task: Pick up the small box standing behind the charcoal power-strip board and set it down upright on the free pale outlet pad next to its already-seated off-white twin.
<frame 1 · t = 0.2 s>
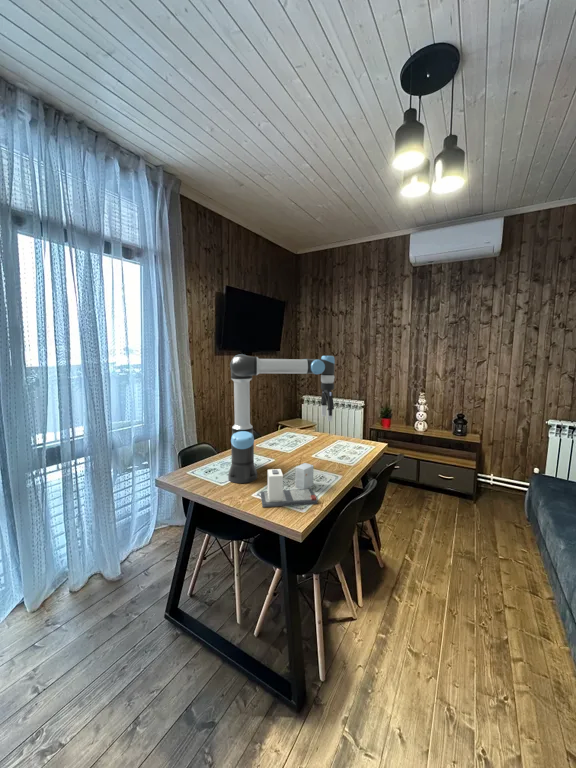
hand: (326, 418, 180), 28 cm above the table, fingers open, 13 cm apart
strip board: (288, 499, 139), on the table
twin plug: (274, 499, 138), resting on strip board
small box: (304, 486, 152), on the table
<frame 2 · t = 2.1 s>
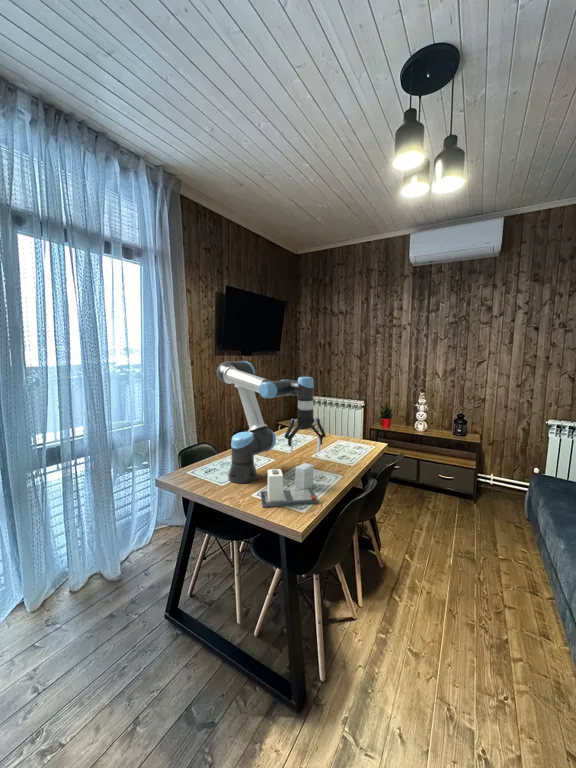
hand: (305, 451, 150), 18 cm above the table, fingers open, 13 cm apart
nothing on the table moved.
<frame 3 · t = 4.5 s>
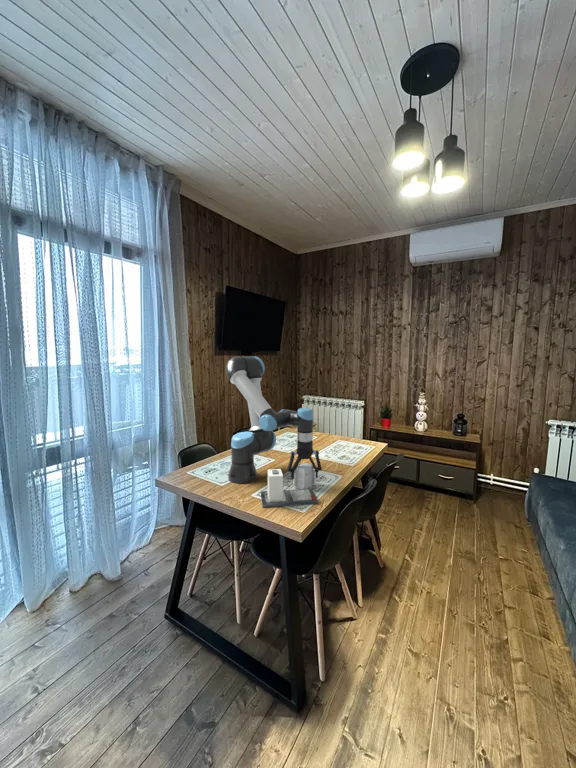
hand: (304, 484, 152), 1 cm above the table, fingers closed on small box, 9 cm apart
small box: (304, 486, 152), on the table, touching gripper
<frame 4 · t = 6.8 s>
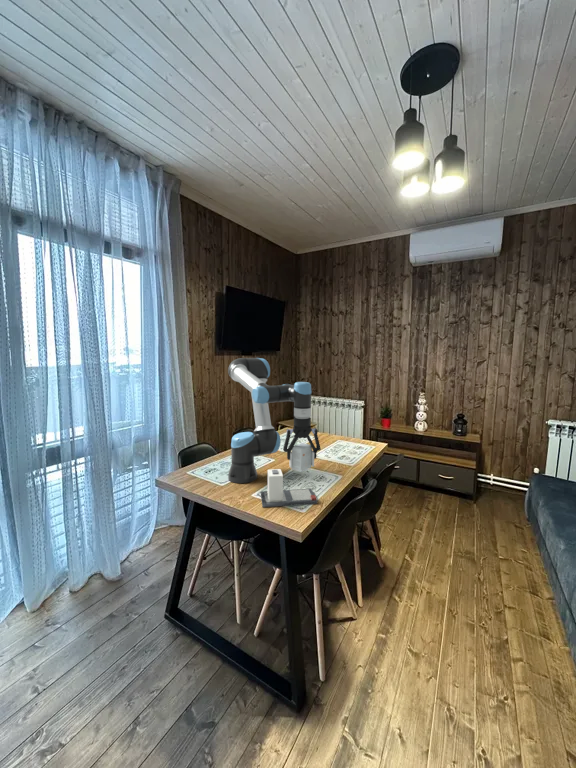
hand: (301, 466, 138), 15 cm above the table, fingers closed on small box, 9 cm apart
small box: (301, 468, 138), point 14 cm above the table, touching gripper
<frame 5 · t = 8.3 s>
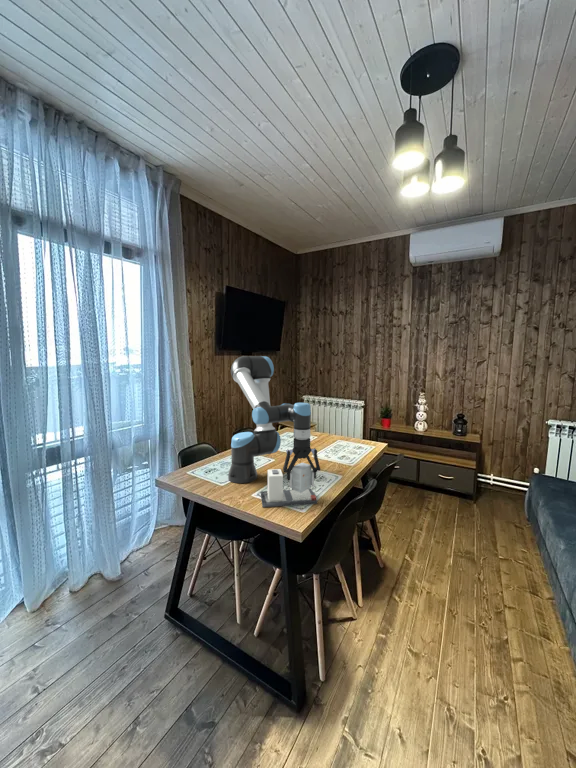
hand: (301, 486, 139), 6 cm above the table, fingers closed on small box, 9 cm apart
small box: (301, 488, 139), point 5 cm above the table, touching gripper
when the fingers open (4 cm above the table, at t = 9.6 s): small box drops 1 cm, resting on strip board.
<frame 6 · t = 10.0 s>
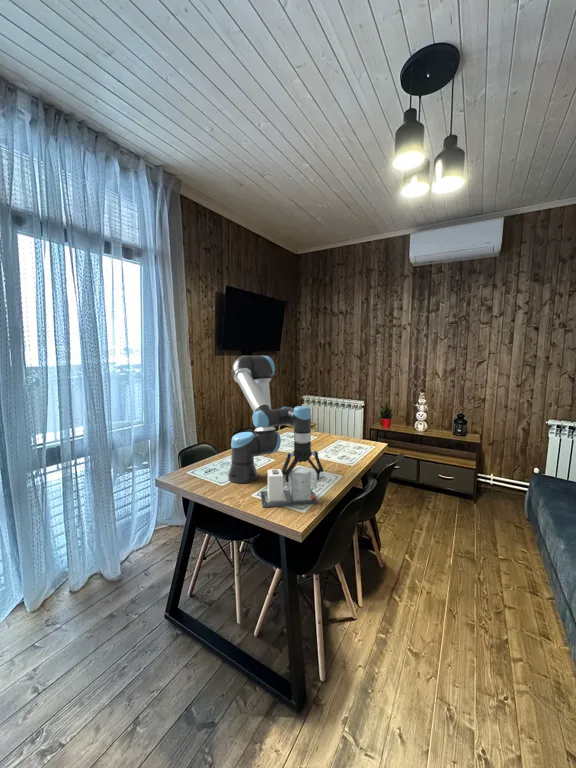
hand: (302, 487, 139), 5 cm above the table, fingers open, 12 cm apart
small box: (300, 495, 140), point 1 cm above the table, touching strip board
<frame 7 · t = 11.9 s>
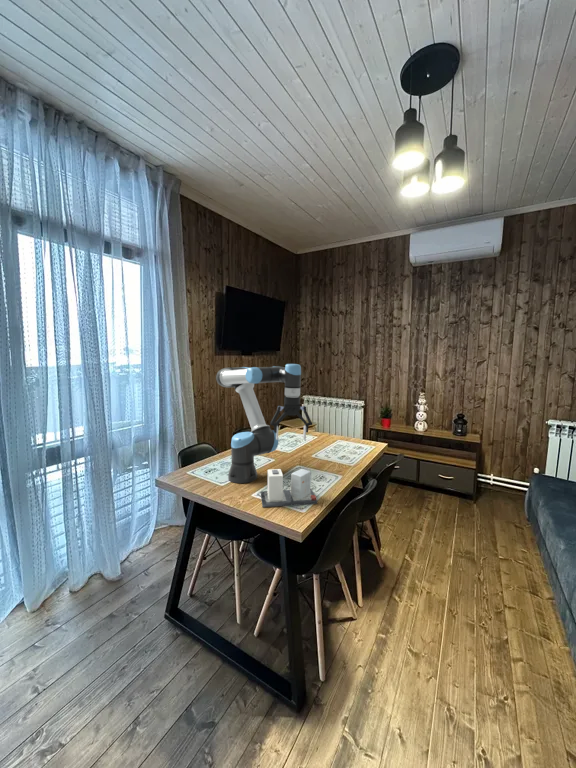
hand: (290, 439, 150), 24 cm above the table, fingers open, 13 cm apart
nothing on the table moved.
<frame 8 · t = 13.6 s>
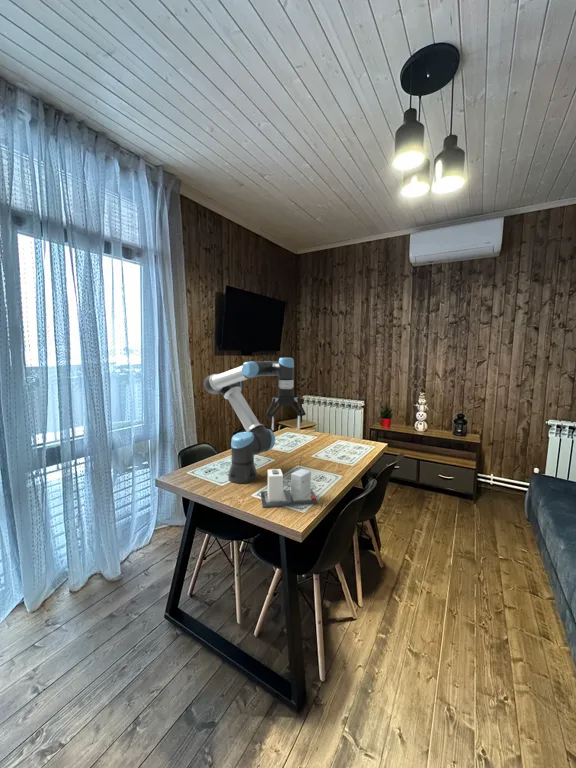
hand: (285, 429, 158), 27 cm above the table, fingers open, 13 cm apart
nothing on the table moved.
at the end: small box inside the target area on the strip board (0.2 cm from its centre), point 1.5 cm above the strip board's base; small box tilted 0°; the gripper is holding nothing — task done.
